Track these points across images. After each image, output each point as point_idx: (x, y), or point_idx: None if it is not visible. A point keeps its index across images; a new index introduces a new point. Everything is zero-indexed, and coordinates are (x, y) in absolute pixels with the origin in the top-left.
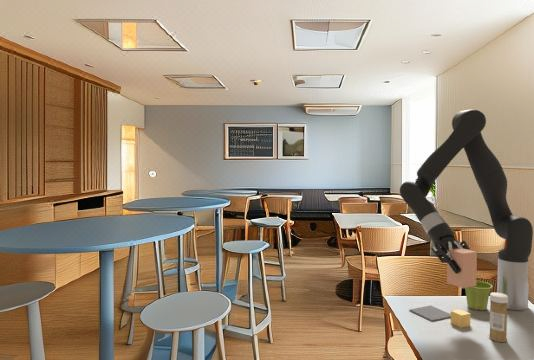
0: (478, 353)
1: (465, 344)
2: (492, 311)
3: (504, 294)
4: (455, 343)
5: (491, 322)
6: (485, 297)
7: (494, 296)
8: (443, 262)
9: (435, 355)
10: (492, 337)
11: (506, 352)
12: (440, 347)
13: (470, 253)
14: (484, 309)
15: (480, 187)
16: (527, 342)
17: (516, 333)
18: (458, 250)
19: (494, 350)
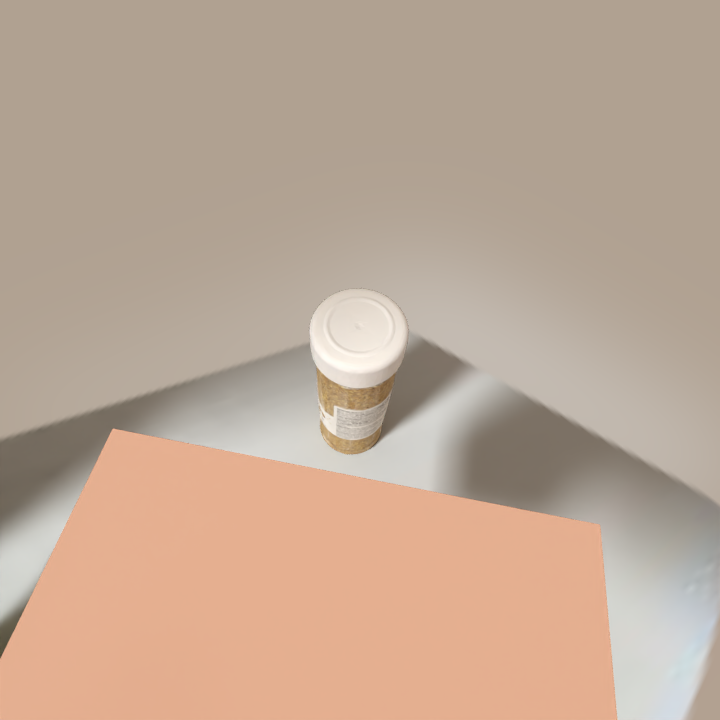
0: (530, 411)
1: (512, 475)
2: (392, 386)
3: (327, 308)
4: (544, 503)
5: (384, 413)
6: None
7: (407, 333)
8: None
9: (698, 491)
10: (380, 429)
11: (433, 363)
12: (632, 519)
13: (337, 480)
14: None
15: None
16: (287, 355)
17: (229, 408)
18: None
19: (456, 391)
